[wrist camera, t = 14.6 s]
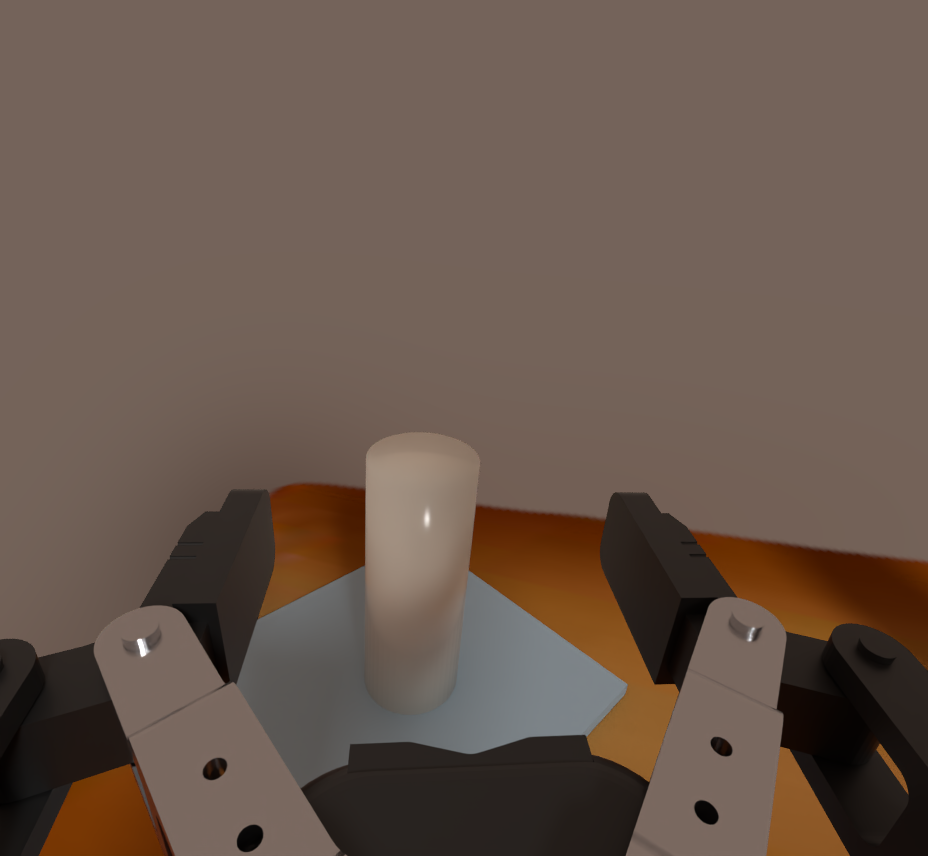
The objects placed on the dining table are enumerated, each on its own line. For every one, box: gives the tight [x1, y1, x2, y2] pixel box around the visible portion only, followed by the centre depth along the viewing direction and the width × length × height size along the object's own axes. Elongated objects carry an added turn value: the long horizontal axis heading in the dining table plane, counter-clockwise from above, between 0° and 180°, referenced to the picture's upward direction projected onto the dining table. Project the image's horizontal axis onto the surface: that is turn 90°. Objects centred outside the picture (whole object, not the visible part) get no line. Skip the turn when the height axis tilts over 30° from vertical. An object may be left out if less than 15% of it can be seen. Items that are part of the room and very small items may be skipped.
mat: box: [236, 566, 628, 788], centre depth 32 cm, size 18×18×1 cm
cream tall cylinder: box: [364, 432, 480, 715], centre depth 29 cm, size 5×5×14 cm
